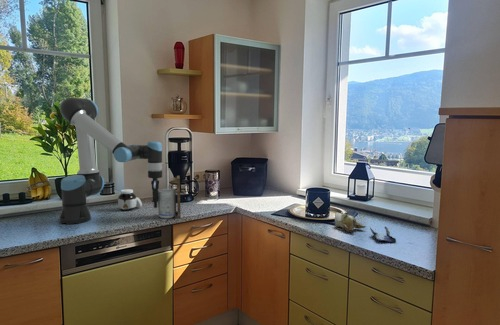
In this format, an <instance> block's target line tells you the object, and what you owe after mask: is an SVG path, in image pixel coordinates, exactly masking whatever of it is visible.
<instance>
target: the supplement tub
mask: <svg viewBox="0 0 500 325" xmlns="http://www.w3.org/2000/svg"><path fill="white" fill-rule="evenodd" d="M176 194H177V191H176V190H175V189H174V188H163V189H162V188H161V189H158V217H159V218H161V219H171V218H175V215H176V211H177V195H176Z"/></svg>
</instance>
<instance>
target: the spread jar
mask: <svg viewBox="0 0 500 325" xmlns="http://www.w3.org/2000/svg"><path fill="white" fill-rule="evenodd" d="M117 205H118V209H119V210H121V211H123V212H128V211H134V210H135V209H136V207H137V208H138V209H140V208H142V207H143V203H142V200H141V199H140V197H137V196H136V194H135V193H134V190H133V189H131V188H127V189H121V190H120V194H119V195H118V197H117Z"/></svg>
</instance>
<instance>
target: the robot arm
mask: <svg viewBox="0 0 500 325" xmlns="http://www.w3.org/2000/svg"><path fill="white" fill-rule="evenodd" d="M59 110H60V111H59V112H60V114H61V115H62V117H63V119H64V120H66V121H67V122H68V123H69V124H70V125H72V126H75V131H76V133H75V134H76V143H77V144H76V145H77V153H78V154H77V155H78V166H79V170H78V171H77V172H76V174H74V175H73V174H72V175H68V176H65V177H64V178H62V179H61V181H60V190H61V206H62V208H61V212H60V215H59V223H60V222H61V223H60V224H62V223H66V224H65V225H74V223H77V224H81V223H86V222H89V221H90V220H91V219H92V215H91V212H90V210H89V207H88V205H87V204H88V203H87V198H88V197H91V196H94V195H98V194H99V193H101V192H102V190H104V187H105V179H104V177H103V176H102V175H101V174H100V170H99V169H98V168H97V163H96V162H97V161H96V150H95V141H96V142H97V143H99V145H101V146H103V147H104V148H105V149H106V150H107V151H109V152H110V153H111V154H113V157H114V159H115V161H116V162H118V163H128V162H130V161H135V160H147V170H148V171H147V178H148V179H152V180H151V190H152V200H151V203H152V214H159V206H158V191H159V187H160V180H158V179H161V178H163V167H164V164H163V144H162V142H161V141H148V142H147V143H146V144H145V145H144V144H143V145H142V144H128V145H127V144H125V143H124V142H123V141H121V140H120V139H119V138H117V136H115V135H114V134H113V133H111V132H110V131H109V130H107V129H106V128H105V127H103V126H102V125H101V124H99V122H97V121H96V118H97V116H98V115H99V108H98V105H97V104H96V103H95V102H94V101H93V100H92V99H89V98H84V97H83V98H81V97H68V98H65V99H64V100H62V101H61V103H60V106H59Z"/></svg>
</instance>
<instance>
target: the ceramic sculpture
mask: <svg viewBox="0 0 500 325" xmlns="http://www.w3.org/2000/svg"><path fill="white" fill-rule="evenodd" d="M334 225H335V227H336V228H343V229H344V230H346V231H347V232H354V229H358V230H359V229H365V228H366V227H367V226H365V225H362V224H361V223H360V222H358V221H357V220H356V218H355V216H353V215H351V214H350V213H349V212H344V213H340V212H337V211H336V212H335V215H334Z"/></svg>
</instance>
